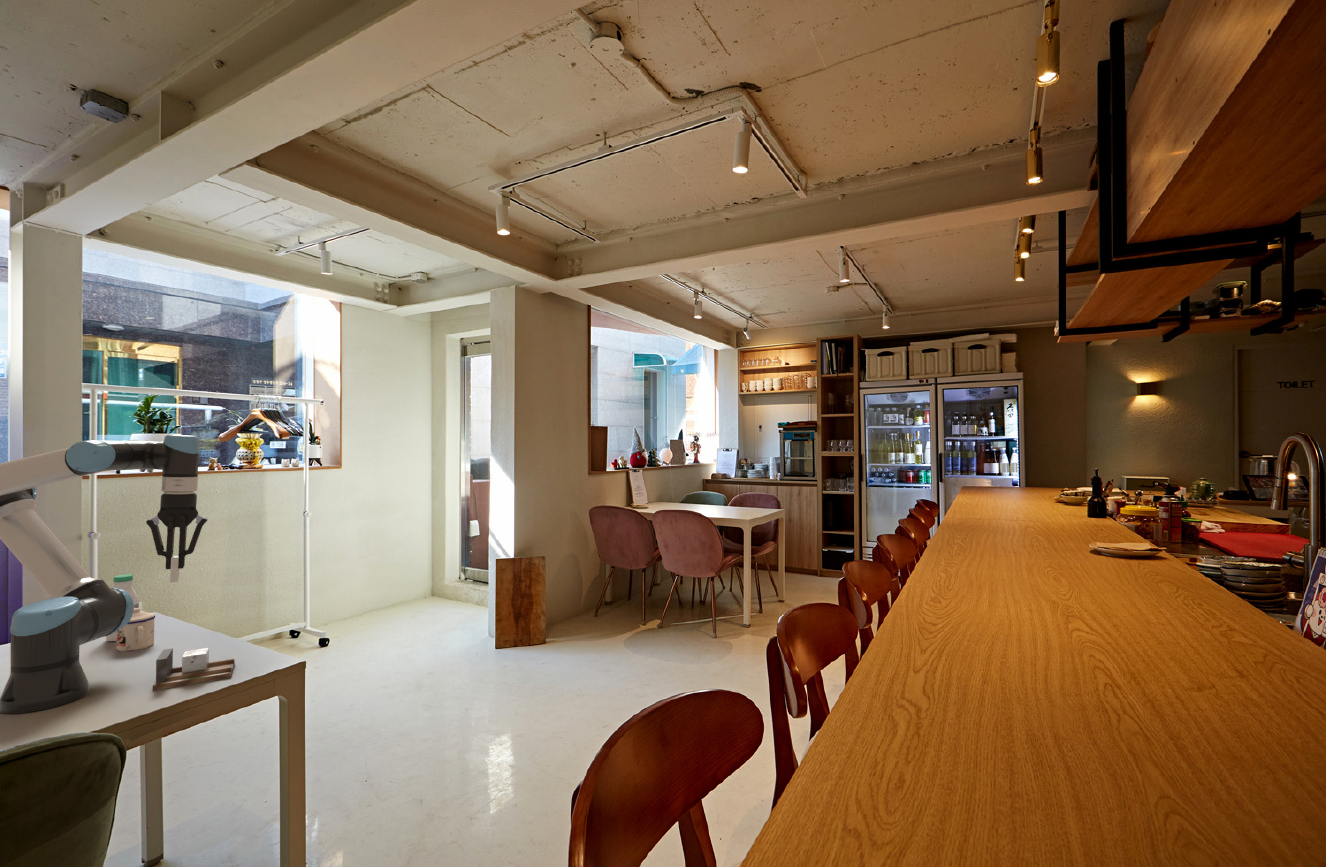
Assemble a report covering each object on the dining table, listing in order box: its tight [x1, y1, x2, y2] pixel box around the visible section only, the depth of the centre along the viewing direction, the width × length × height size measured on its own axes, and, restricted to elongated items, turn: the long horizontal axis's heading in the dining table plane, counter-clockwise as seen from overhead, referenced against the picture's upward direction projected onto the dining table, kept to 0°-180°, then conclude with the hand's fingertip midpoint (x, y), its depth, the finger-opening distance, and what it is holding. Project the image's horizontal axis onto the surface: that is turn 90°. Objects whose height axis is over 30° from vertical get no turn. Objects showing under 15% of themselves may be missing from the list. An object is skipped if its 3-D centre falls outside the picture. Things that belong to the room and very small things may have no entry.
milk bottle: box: [105, 574, 140, 642], centre depth 192 cm, size 8×8×20 cm
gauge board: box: [151, 648, 236, 691], centre depth 160 cm, size 16×11×7 cm
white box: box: [181, 647, 210, 674], centre depth 158 cm, size 5×9×5 cm, turn 31°
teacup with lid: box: [116, 607, 156, 652], centre depth 183 cm, size 12×9×12 cm
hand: (174, 581), depth 160 cm, fingers closed
